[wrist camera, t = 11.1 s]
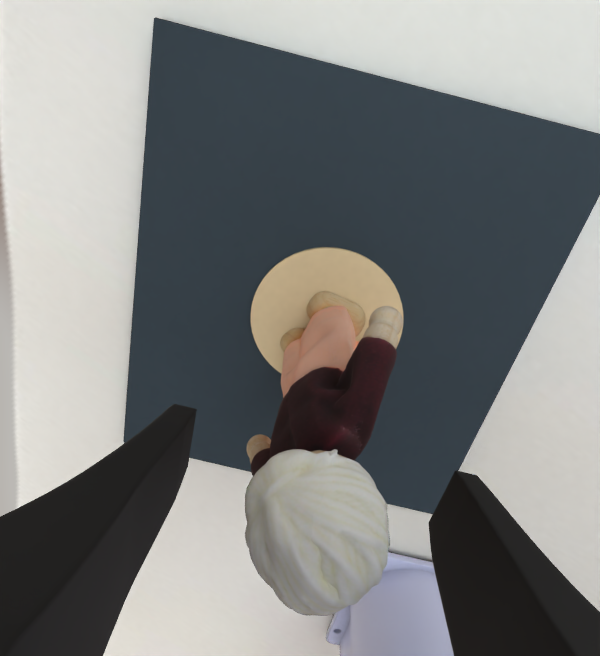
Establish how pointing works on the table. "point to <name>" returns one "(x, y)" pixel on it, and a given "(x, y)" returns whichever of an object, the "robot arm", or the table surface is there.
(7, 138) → the table surface
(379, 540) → the grandmother figurine
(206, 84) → the display mat
